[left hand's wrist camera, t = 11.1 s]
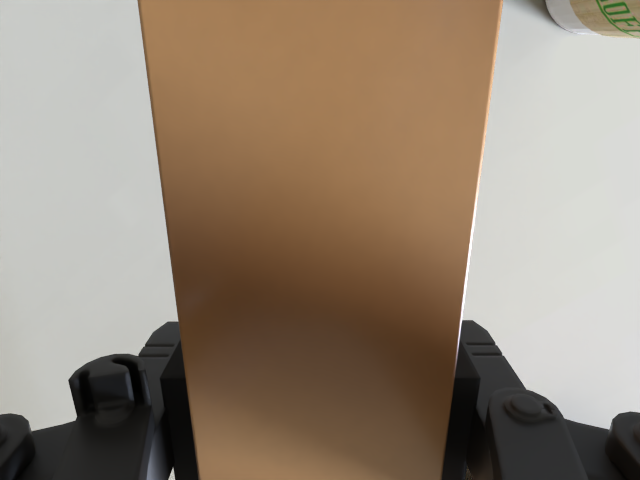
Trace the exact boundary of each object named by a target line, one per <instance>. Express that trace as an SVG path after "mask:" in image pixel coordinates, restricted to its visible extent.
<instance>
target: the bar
mask: <svg viewBox="0 0 640 480" xmlns="http://www.w3.org/2000/svg"><path fill="white" fill-rule="evenodd" d="M502 5H503V0H138V7H139V15H140V23H141V31H142V39H143V47H144V54H145V62H146V70H147V78H148V86H149V94H150V101H151V109H152V117H153V125H154V133H155V141H156V149H157V156H158V164H159V172H160V180H161V188H162V196H163V203H164V211H165V219H166V227H167V235H168V243H169V251H170V258H171V266H172V274H173V282H174V290H175V298H176V306H177V313H178V321H179V329H180V337H181V345H182V353H183V360H184V368H185V376H186V384H187V392H188V400H189V408H190V415H191V423H192V431H193V439H194V447H195V455H196V462H197V470H198V478H199V480H442V472H443V464H444V456H445V448H446V441H447V433H448V425H449V417H450V410H451V402H452V394H453V386H454V378H455V371H456V363H457V355H458V347H459V339H460V332H461V324H462V316H463V308H464V300H465V293H466V285H467V277H468V269H469V262H470V254H471V246H472V238H473V230H474V223H475V215H476V207H477V199H478V191H479V184H480V176H481V168H482V160H483V153H484V145H485V137H486V129H487V121H488V114H489V106H490V98H491V90H492V82H493V75H494V67H495V59H496V51H497V43H498V36H499V28H500V20H501V12H502Z"/></svg>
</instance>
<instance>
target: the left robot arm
mask: <svg viewBox="0 0 640 480" xmlns="http://www.w3.org/2000/svg"><path fill="white" fill-rule="evenodd" d="M68 381H69V385H70V389H71V393H72V397H73V401H74V405H75V409H76V413H77V418H76V421H73V422H70V423H66V424H63V425H58V426H54V427H49V428H45V429H40V430H36V431H32V432H31V428H30V425H29V422H28V420H26V419H25V418H24V417H23V416H22V415H16V414H2V415H0V480H168V479H169V476H170V473H171V471H172V468H174V474H175V480H199V478H198V470H197V462H196V455H195V447H194V439H193V431H192V423H191V415H190V408H189V400H188V392H187V384H186V376H185V368H184V360H183V353H182V345H181V337H180V329H179V322H167V323H165V324H164V325H163V326H161V327H160V328H159V329H157V330H156V331H154V332H153V333H152V335H151V336H150V338H149V340H148V341H147V343H146V344H145V347H143V349H142V350H141V352H140V353H139V356H135V355H131V354H113V355H109V356H104V357H100V358H98V359H96V360H93V361H91V362H88V363H86V364H85V365H84V366H82V367H81V368H79V369H78V370H76V371H75V372H74V374H73V375H72V376H71V377H70V379H69V380H68ZM467 465H468V468H469V470H470V473H471V476H472V478H473V480H640V413H637V412H626V413H620V414H618V415H617V416H616V417H615V418H614V419H613V420H612V423H611V426H610V430H608V429H604V428H599V427H595V426H590V425H586V424H581V423H577V422H574V421H570V420H567V419H564V418H563V415H562V414H561V412H560V411H559V410H558V408H557V407H556V406H555V405H554V404H553V403H552V402H550V401H549V400H548V399H547V398H545V397H543V396H541V395H539V394H537V393H535V392H533V391H529V390H526V388H525V387H524V385H523V384H522V382H521V381H520V379H519V378H518V376H517V375H516V373H515V372H514V370H513V369H512V367H511V366H510V364H509V363H508V361H507V360H506V358H505V357H504V356H502V352H501V351H500V349H499V348H498V346H497V345H495V342H494V340H493V339H492V337H491V336H490V334H489V333H488V331H487V330H485V329H484V328H483V327H481V326H480V325H478V324H477V323H476V322H474V321H473V320H462V324H461V332H460V339H459V347H458V355H457V363H456V371H455V378H454V386H453V394H452V402H451V410H450V417H449V425H448V433H447V441H446V448H445V456H444V464H443V472H442V480H465V476H466V470H467Z"/></svg>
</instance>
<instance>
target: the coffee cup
mask: <svg viewBox="0 0 640 480" xmlns="http://www.w3.org/2000/svg"><path fill="white" fill-rule="evenodd" d="M545 1H546V5H547V9H548V11H549V13H550V15H551V17H552V18H553V19H554V21H555V22H556V23H557V24H558V25H559V26H561V27H562V28H563V29H565V30H567V31H570V32H572V33H578V34H600V35H603V36H609V37H620V38H640V0H545Z"/></svg>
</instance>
